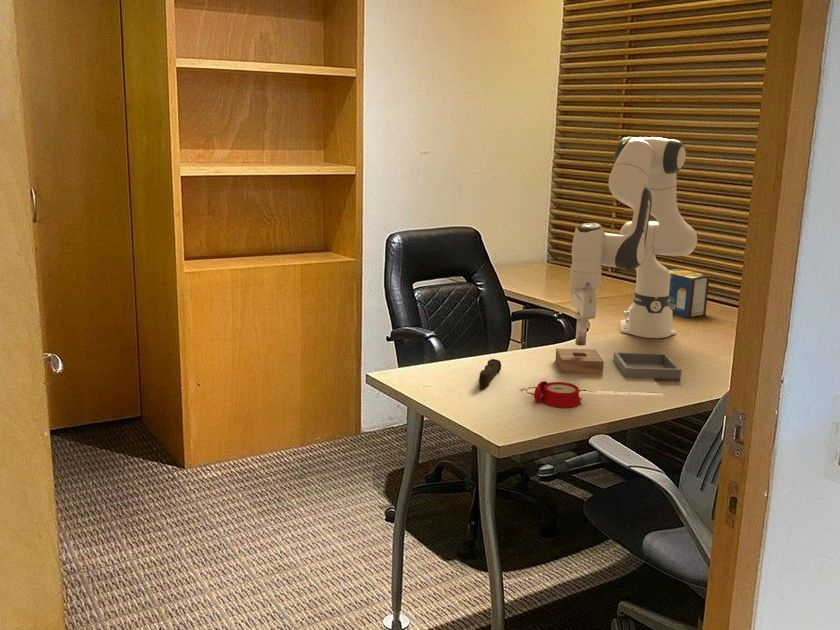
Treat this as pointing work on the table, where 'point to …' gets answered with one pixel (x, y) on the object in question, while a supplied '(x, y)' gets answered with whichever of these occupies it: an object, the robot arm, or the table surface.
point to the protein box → (688, 293)
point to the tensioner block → (579, 361)
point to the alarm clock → (557, 394)
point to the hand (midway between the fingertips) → (581, 325)
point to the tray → (647, 366)
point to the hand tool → (489, 373)
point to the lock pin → (580, 332)
